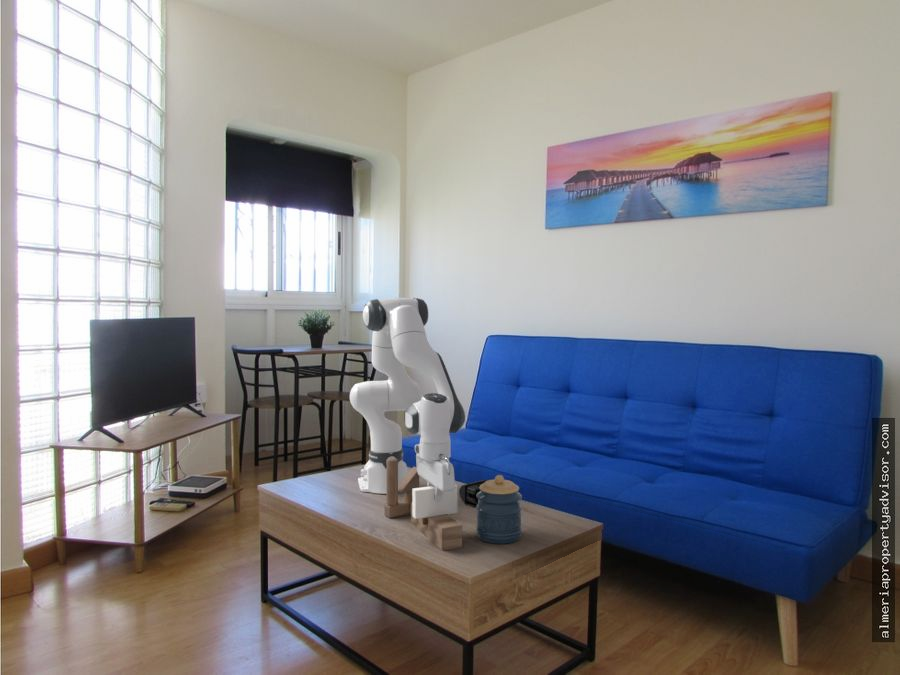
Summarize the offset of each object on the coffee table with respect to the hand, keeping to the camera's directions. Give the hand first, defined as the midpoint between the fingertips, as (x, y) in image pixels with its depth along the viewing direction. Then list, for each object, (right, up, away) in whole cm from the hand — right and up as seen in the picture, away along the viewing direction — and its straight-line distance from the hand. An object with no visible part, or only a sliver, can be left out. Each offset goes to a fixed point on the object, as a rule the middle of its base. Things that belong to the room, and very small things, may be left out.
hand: (435, 498), depth 178 cm
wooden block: (-11, -10, +18) cm, 23 cm away
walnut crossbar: (0, -10, +1) cm, 10 cm away
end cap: (+13, -9, +30) cm, 34 cm away
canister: (+18, -11, -1) cm, 21 cm away
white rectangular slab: (0, -5, 0) cm, 5 cm away
